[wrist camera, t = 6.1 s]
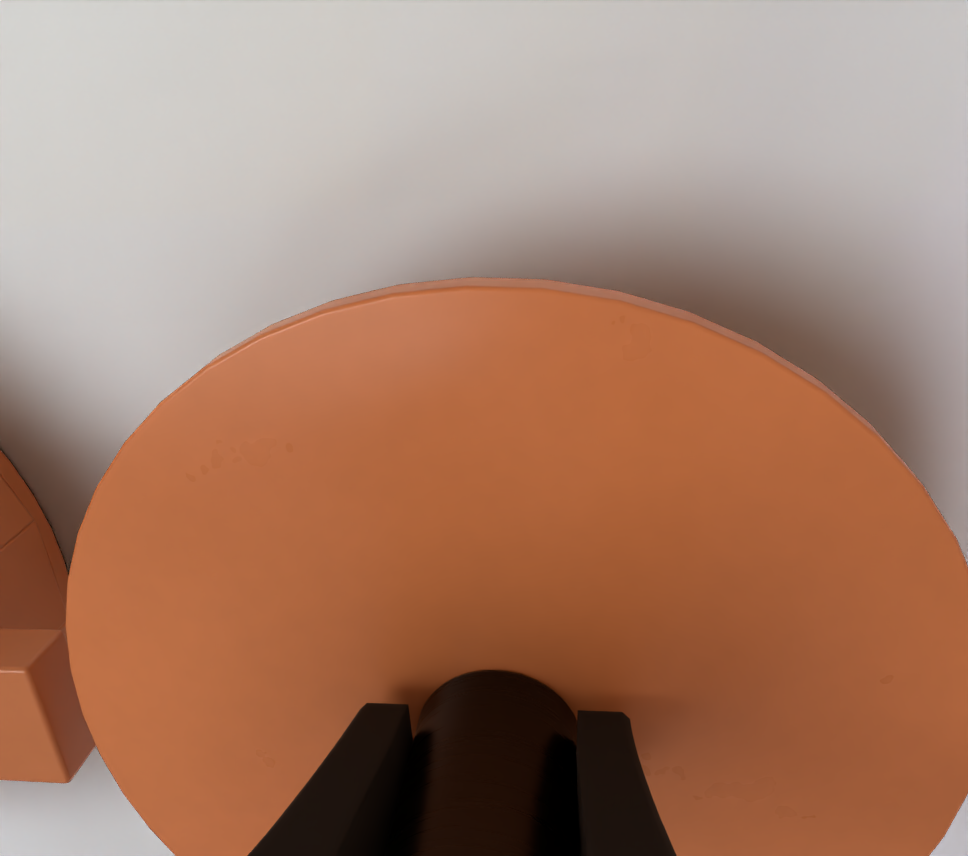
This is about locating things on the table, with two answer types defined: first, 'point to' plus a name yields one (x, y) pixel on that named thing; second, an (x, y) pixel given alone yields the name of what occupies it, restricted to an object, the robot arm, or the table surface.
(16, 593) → the pan
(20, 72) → the table surface
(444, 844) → the lid
